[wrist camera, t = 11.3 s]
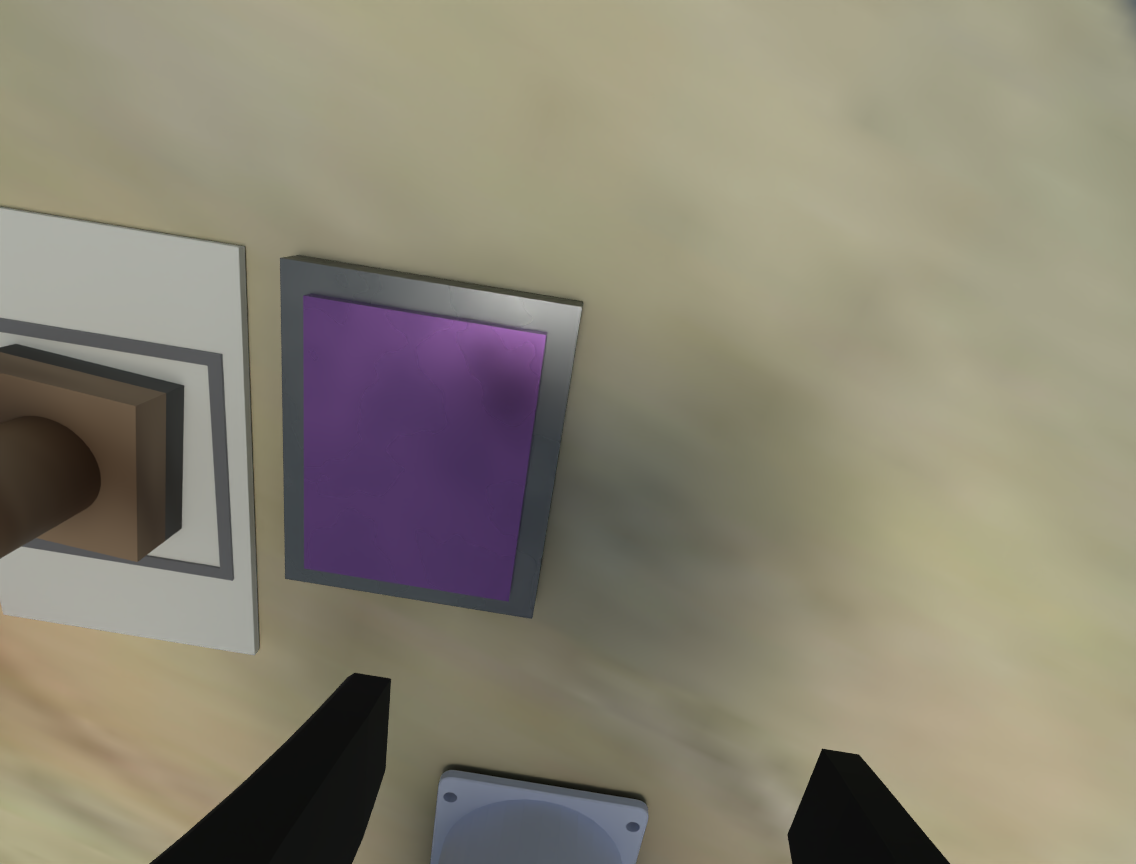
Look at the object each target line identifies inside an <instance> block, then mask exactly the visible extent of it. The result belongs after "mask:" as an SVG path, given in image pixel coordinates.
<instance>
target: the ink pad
mask: <svg viewBox="0 0 1136 864" xmlns="http://www.w3.org/2000/svg"><path fill="white" fill-rule="evenodd" d="M280 284H281V346H282V408H283V470H284V532H285V579H291V580H297V581H303V582H309V583H315V584H322V585H328V586H334V587H340V588H346V589H352V590H358V591H365V592H371V593H377V594H383V595H389V596H395V597H402V598H408V599H414V600H420V601H426V602H432V603H438V604H445V605H451V606H457V607H463V608H469V609H475V610H482V611H488V612H494V613H500V614H506V615H512V616H519V617H525V618H531V619H532V617H533V611H534V606H535V600H536V594H537V587H538V581H539V575H540V569H541V562H542V556H543V550H544V544H545V537H546V531H547V525H548V519H549V512H550V506H551V500H552V494H553V487H554V481H555V475H556V468H557V462H558V456H559V450H560V443H561V437H562V431H563V425H564V418H565V412H566V406H567V400H568V393H569V387H570V381H571V375H572V368H573V362H574V356H575V350H576V343H577V337H578V331H579V325H580V318H581V312H582V306H583V302H582V301H576V300H570V299H564V298H558V297H552V296H545V295H539V294H533V293H527V292H521V291H515V290H509V289H503V288H496V287H490V286H484V285H478V284H472V283H466V282H460V281H454V280H447V279H441V278H435V277H429V276H423V275H417V274H411V273H405V272H398V271H392V270H386V269H380V268H374V267H368V266H362V265H356V264H349V263H343V262H337V261H331V260H325V259H319V258H313V257H306V256H300V255H296V256H289V257H283V258H280Z"/></svg>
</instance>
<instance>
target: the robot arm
mask: <svg viewBox="0 0 1136 864" xmlns="http://www.w3.org/2000/svg"><path fill="white" fill-rule="evenodd" d="M390 687H391V679H390V678H384V677H377V676H371V675H365V674H359V673H354V674H352V675H350V676H349V677H347V678H346V680H345V681H344V682H343V683H342V684H341V685H340V686H339V687H338V688H337V689H336V691H335V692H334V693H333V694H332V695H331V696H330V697H329V698H328V699H327V700H326V701H325V702H324V703H323V704H322V705H321V707H320V708H319V709H318V710H317V711H316V712H315V713H314V714H313V715H312V716H311V717H310V718H309V719H308V720H307V721H306V722H305V723H304V724H303V725H302V726H301V727H300V728H299V729H298V730H297V731H296V732H295V733H294V734H293V735H292V736H291V737H290V738H289V739H288V740H287V741H286V742H285V743H284V744H283V745H282V746H281V747H280V748H279V749H278V750H277V751H276V752H275V753H274V754H273V755H272V756H270V757H269V758H268V759H267V760H266V761H265V762H264V763H263V764H262V765H261V766H260V767H259V768H258V769H257V770H256V771H255V772H254V773H253V774H252V775H251V776H250V777H249V778H248V779H246V780H245V781H244V782H243V783H242V784H241V785H240V786H239V787H238V788H237V789H236V790H234V791H233V792H232V793H231V794H230V795H229V796H228V797H227V798H225V799H224V800H223V801H222V802H221V803H220V804H219V805H217V806H216V807H215V808H214V809H213V810H212V811H211V812H209V813H208V814H207V815H206V816H205V817H204V818H203V819H202V820H200V821H199V822H198V823H197V824H196V825H195V826H194V827H192V828H191V829H190V830H189V831H188V832H187V833H186V834H184V835H183V836H182V837H181V838H180V839H179V840H177V841H176V842H175V843H174V844H173V845H171V846H170V847H169V848H168V849H167V850H165V851H164V852H163V853H162V854H160V855H159V856H158V857H157V858H156V859H154V860H153V861H152V862H151V863H149V864H352V862H353V860H354V858H355V855H356V853H357V851H358V848H359V846H360V844H361V841H362V839H363V836H364V833H365V830H366V827H367V824H368V821H369V818H370V815H371V812H372V810H373V807H374V803H375V800H376V797H377V794H378V791H379V788H380V785H381V782H382V779H383V776H384V772H385V768H386V752H387V736H388V719H389V703H390ZM647 822H648V807H647V805H646V804H645V803H644V802H642V801H640V800H637V799H631V798H625V797H618V796H612V795H606V794H600V793H594V792H588V791H581V790H575V789H569V788H563V787H557V786H551V785H544V784H538V783H532V782H526V781H520V780H514V779H507V778H501V777H495V776H489V775H483V774H477V773H470V772H464V771H458V770H448V771H445V772H444V773H443V774H442V775H441V778H440V781H439V785H438V795H437V804H436V814H435V823H434V833H433V842H432V852H431V861H430V864H636V861H637V857H638V854H639V850H640V846H641V843H642V839H643V836H644V832H645V829H646V825H647ZM788 841H789V847H790V853H791V859H792V864H950V863H949V862H948V861H947V859H946V858H945V857H944V856H943V855H942V853H941V852H940V851H939V850H938V849H937V847H936V846H935V845H934V844H933V843H932V841H931V840H930V839H929V838H928V837H927V835H926V834H925V833H924V832H923V831H922V829H921V828H920V827H919V826H918V825H917V823H916V822H915V821H914V820H913V819H912V817H911V816H910V815H909V814H908V813H907V811H906V810H905V809H904V808H903V807H902V805H901V804H900V803H899V802H898V800H897V799H896V798H895V797H894V796H893V794H892V793H891V792H890V791H889V790H888V788H887V787H886V786H885V785H884V784H883V782H882V781H881V780H880V779H879V778H878V776H877V775H876V774H875V773H874V772H873V770H872V769H871V768H870V767H869V766H868V765H867V763H866V762H865V761H864V760H863V759H862V758H861V757H860V755H858V754H852V753H846V752H839V751H833V750H827V749H822V751H821V753H820V756H819V758H818V760H817V763H816V765H815V768H814V770H813V773H812V775H811V778H810V780H809V783H808V785H807V788H806V790H805V793H804V795H803V798H802V800H801V803H800V805H799V808H798V810H797V812H796V815H795V817H794V820H793V822H792V825H791V827H790V830H789V832H788Z"/></svg>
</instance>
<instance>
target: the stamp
mask: <svg viewBox="0 0 1136 864" xmlns="http://www.w3.org/2000/svg"><path fill="white" fill-rule="evenodd" d="M183 435H184V385H181V384H177V383H173V382H168V381H164V380H160V379H156V378H152V377H148V376H144V375H140V374H136V373H132V372H128V371H124V370H120V369H116V368H112V367H108V366H104V365H100V364H96V363H92V362H88V361H84V360H80V359H76V358H72V357H68V356H64V355H60V354H56V353H52V352H48V351H44V350H40V349H36V348H32V347H28V346H24V345H20V344H13V345H8V346H4V347H0V559H1V558H2V557H4V556H6V555H8V554H9V553H11V552H13V551H14V550H16V549H18V548H20V547H21V546H23V545H25V544H26V543H28V542H30V541H32V540H33V539H35V538H38V539H43V540H47V541H51V542H55V543H59V544H64V545H68V546H72V547H76V548H80V549H85V550H89V551H93V552H97V553H101V554H106V555H110V556H114V557H118V558H122V559H127V560H131V561H135V562H138V561H140V560H141V559H142V558H143V557H145V556H146V555H147V554H149V553H150V552H151V551H153V550H154V549H155V548H157V547H158V546H159V545H161V544H162V543H163V542H165V541H166V540H167V539H169V538H170V537H171V536H172V535H174V534H175V533H176V532H178V531H179V530H180V529H182V489H183Z"/></svg>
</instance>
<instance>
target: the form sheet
mask: <svg viewBox="0 0 1136 864" xmlns="http://www.w3.org/2000/svg"><path fill="white" fill-rule="evenodd" d="M13 344H20V345H24V346H28V347H32V348H36V349H40V350H44V351H48V352H52V353H56V354H60V355H64V356H68V357H72V358H76V359H80V360H84V361H88V362H92V363H96V364H100V365H104V366H108V367H112V368H116V369H120V370H124V371H128V372H132V373H136V374H140V375H144V376H148V377H152V378H156V379H160V380H164V381H168V382H173V383H177V384H181V385H184V435H183V489H182V529H180V530H179V531H178V532H176V533H175V534H174V535H172V536H171V537H170V538H169V539H167V540H166V541H165V542H163V543H162V544H161V545H159V546H158V547H157V548H155V549H154V550H153V551H151V552H150V553H149V554H147V555H146V556H145V557H143V558H142V559H141V560H140V561H138V562H135V561H131V560H127V559H122V558H118V557H114V556H110V555H106V554H101V553H97V552H93V551H89V550H85V549H80V548H76V547H72V546H68V545H64V544H59V543H55V542H51V541H47V540H43V539H38V538H35V539H33V540H32V541H30V542H28V543H26V544H25V545H23V546H21V547H20V548H18V549H16V550H14V551H13V552H11V553H9V554H8V555H6V556H4V557H2V558H1V559H0V601H1V606H2V611H3V614H4V615H10V616H16V617H22V618H28V619H34V620H41V621H47V622H53V623H59V624H65V625H71V626H77V627H84V628H90V629H96V630H102V631H108V632H114V633H121V634H127V635H133V636H139V637H145V638H151V639H158V640H164V641H170V642H176V643H182V644H188V645H195V646H201V647H207V648H213V649H219V650H225V651H232V652H238V653H244V654H250V655H255V654H256V653H257V652H258V650H259V629H258V601H257V574H256V546H255V518H254V490H253V462H252V435H251V407H250V379H249V351H248V323H247V296H246V268H245V246H239V245H233V244H227V243H221V242H215V241H208V240H202V239H196V238H190V237H184V236H178V235H172V234H166V233H159V232H153V231H147V230H141V229H135V228H129V227H123V226H116V225H110V224H104V223H98V222H92V221H86V220H80V219H74V218H67V217H61V216H55V215H49V214H43V213H37V212H31V211H25V210H18V209H12V208H6V207H0V347H4V346H8V345H13Z"/></svg>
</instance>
